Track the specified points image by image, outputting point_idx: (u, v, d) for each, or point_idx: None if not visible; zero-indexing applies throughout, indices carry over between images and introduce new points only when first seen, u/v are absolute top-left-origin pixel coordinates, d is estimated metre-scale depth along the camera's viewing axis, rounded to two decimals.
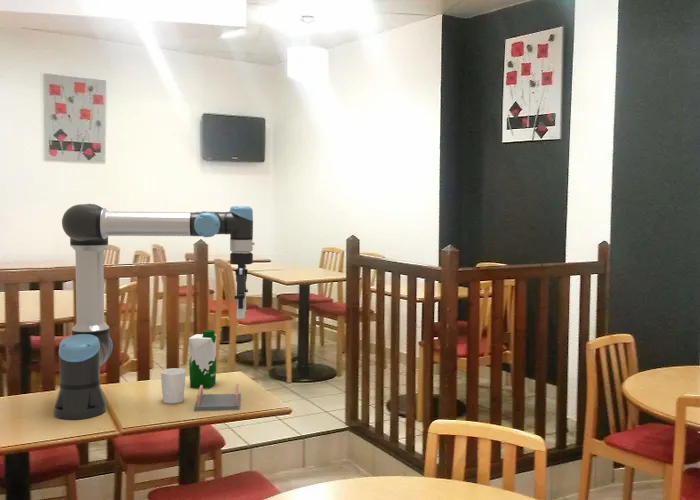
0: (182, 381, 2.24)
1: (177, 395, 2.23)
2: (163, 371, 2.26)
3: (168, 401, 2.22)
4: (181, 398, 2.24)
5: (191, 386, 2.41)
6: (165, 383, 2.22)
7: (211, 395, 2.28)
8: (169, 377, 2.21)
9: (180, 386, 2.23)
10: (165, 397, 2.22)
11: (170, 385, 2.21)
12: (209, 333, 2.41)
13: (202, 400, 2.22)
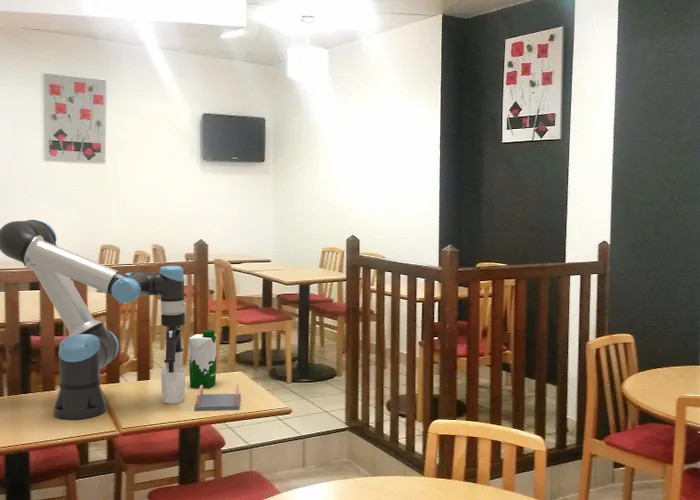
0: (182, 381, 2.24)
1: (177, 395, 2.23)
2: (163, 371, 2.26)
3: (168, 401, 2.22)
4: (181, 398, 2.24)
5: (191, 386, 2.41)
6: (165, 383, 2.22)
7: (211, 395, 2.28)
8: None
9: (180, 386, 2.23)
10: (165, 397, 2.22)
11: (170, 385, 2.21)
12: (209, 333, 2.41)
13: (202, 400, 2.22)
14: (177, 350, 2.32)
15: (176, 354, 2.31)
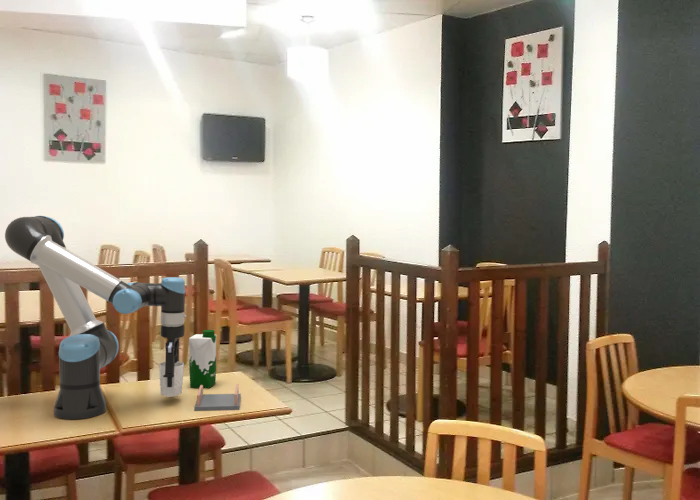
0: (180, 374, 2.23)
1: (175, 388, 2.22)
2: (162, 364, 2.26)
3: None
4: (178, 391, 2.24)
5: (191, 386, 2.41)
6: None
7: (211, 395, 2.28)
8: None
9: (178, 379, 2.23)
10: (163, 390, 2.22)
11: None
12: (209, 333, 2.41)
13: (202, 400, 2.22)
14: None
15: None
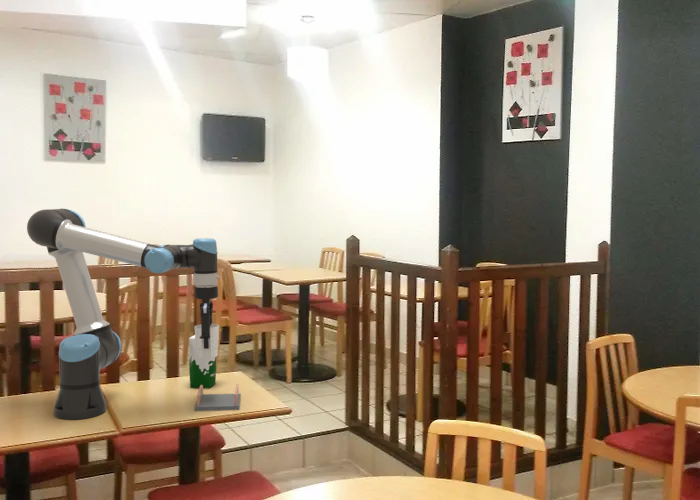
0: (216, 336, 2.21)
1: (211, 349, 2.20)
2: (196, 326, 2.23)
3: None
4: (215, 352, 2.21)
5: (191, 386, 2.41)
6: (199, 338, 2.19)
7: (211, 395, 2.28)
8: None
9: (214, 340, 2.20)
10: (200, 352, 2.19)
11: None
12: None
13: (202, 400, 2.22)
14: None
15: None
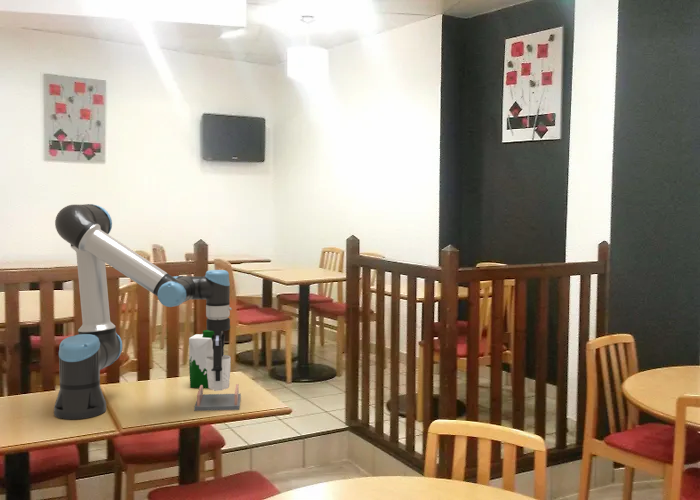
0: (228, 367, 2.21)
1: (223, 381, 2.20)
2: (208, 357, 2.23)
3: None
4: (226, 384, 2.21)
5: (191, 386, 2.41)
6: None
7: (211, 395, 2.28)
8: None
9: (226, 372, 2.20)
10: (211, 384, 2.19)
11: None
12: (209, 333, 2.41)
13: (202, 400, 2.22)
14: None
15: None
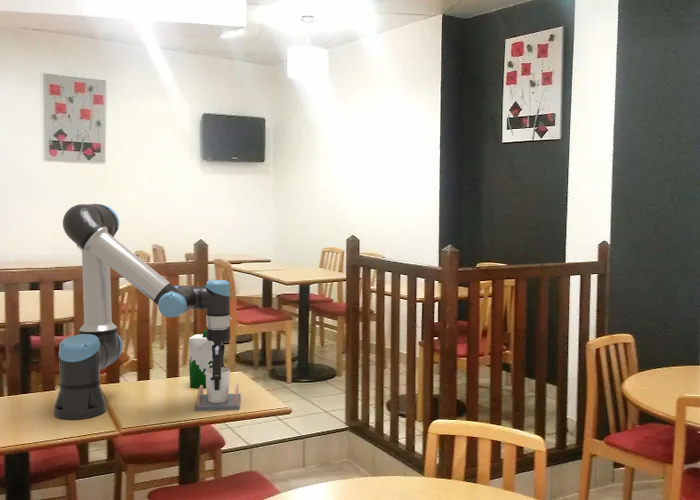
0: (227, 380, 2.21)
1: (222, 394, 2.20)
2: (207, 370, 2.23)
3: (213, 400, 2.19)
4: (225, 397, 2.21)
5: (191, 386, 2.41)
6: (210, 382, 2.19)
7: None
8: None
9: (225, 385, 2.20)
10: (210, 397, 2.20)
11: None
12: None
13: (202, 400, 2.22)
14: None
15: None
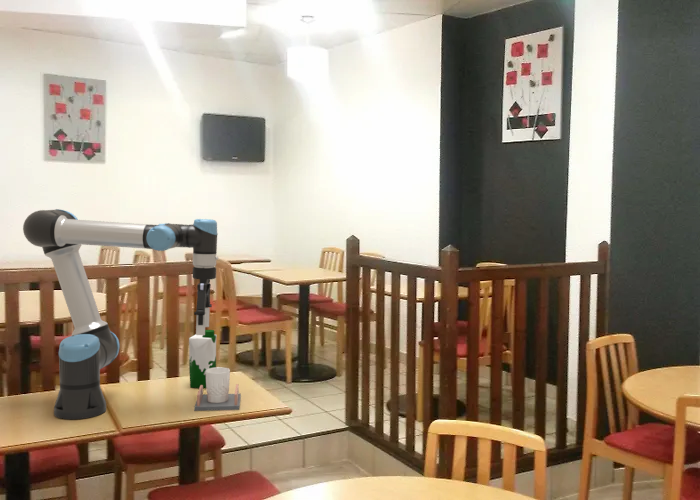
0: (227, 380, 2.21)
1: (222, 394, 2.20)
2: (207, 370, 2.23)
3: (213, 400, 2.19)
4: (225, 397, 2.21)
5: (191, 386, 2.41)
6: (210, 382, 2.19)
7: None
8: (214, 376, 2.18)
9: (225, 385, 2.20)
10: (210, 397, 2.20)
11: (215, 384, 2.19)
12: (209, 333, 2.41)
13: (202, 400, 2.22)
14: (206, 305, 2.30)
15: (205, 309, 2.29)
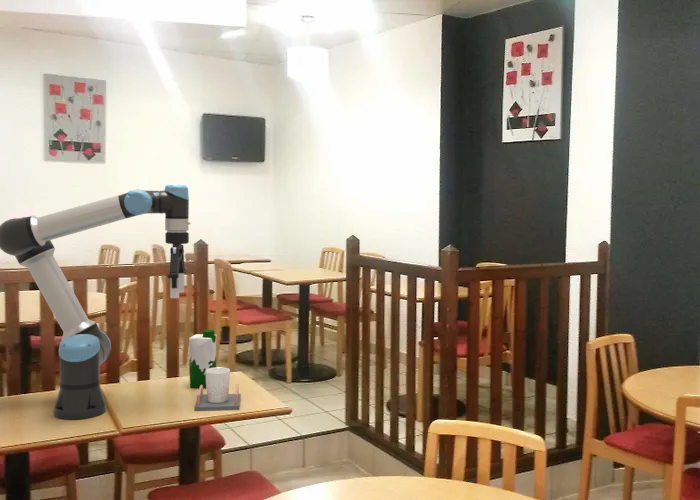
0: (227, 380, 2.21)
1: (222, 394, 2.20)
2: (207, 370, 2.23)
3: (213, 400, 2.19)
4: (225, 397, 2.21)
5: (191, 386, 2.41)
6: (210, 382, 2.19)
7: None
8: (214, 376, 2.18)
9: (225, 385, 2.20)
10: (210, 397, 2.20)
11: (215, 384, 2.19)
12: (209, 333, 2.41)
13: (202, 400, 2.22)
14: (180, 271, 2.34)
15: (179, 275, 2.33)
